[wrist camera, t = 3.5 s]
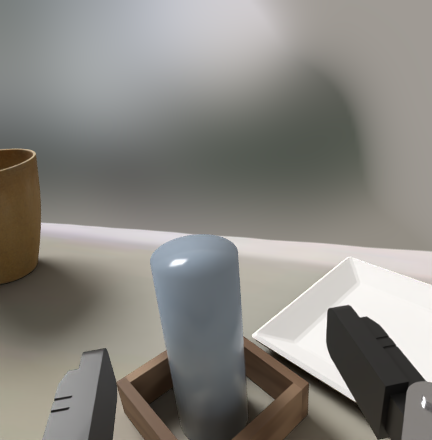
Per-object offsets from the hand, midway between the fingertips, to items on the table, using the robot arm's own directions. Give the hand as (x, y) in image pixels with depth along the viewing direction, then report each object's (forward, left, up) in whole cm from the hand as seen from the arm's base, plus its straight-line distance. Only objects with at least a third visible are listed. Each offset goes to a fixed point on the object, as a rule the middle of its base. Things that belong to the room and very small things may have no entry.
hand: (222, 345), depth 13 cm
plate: (+22, +3, -18) cm, 29 cm away
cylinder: (+5, +9, -17) cm, 20 cm away
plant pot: (-1, +47, -17) cm, 50 cm away
